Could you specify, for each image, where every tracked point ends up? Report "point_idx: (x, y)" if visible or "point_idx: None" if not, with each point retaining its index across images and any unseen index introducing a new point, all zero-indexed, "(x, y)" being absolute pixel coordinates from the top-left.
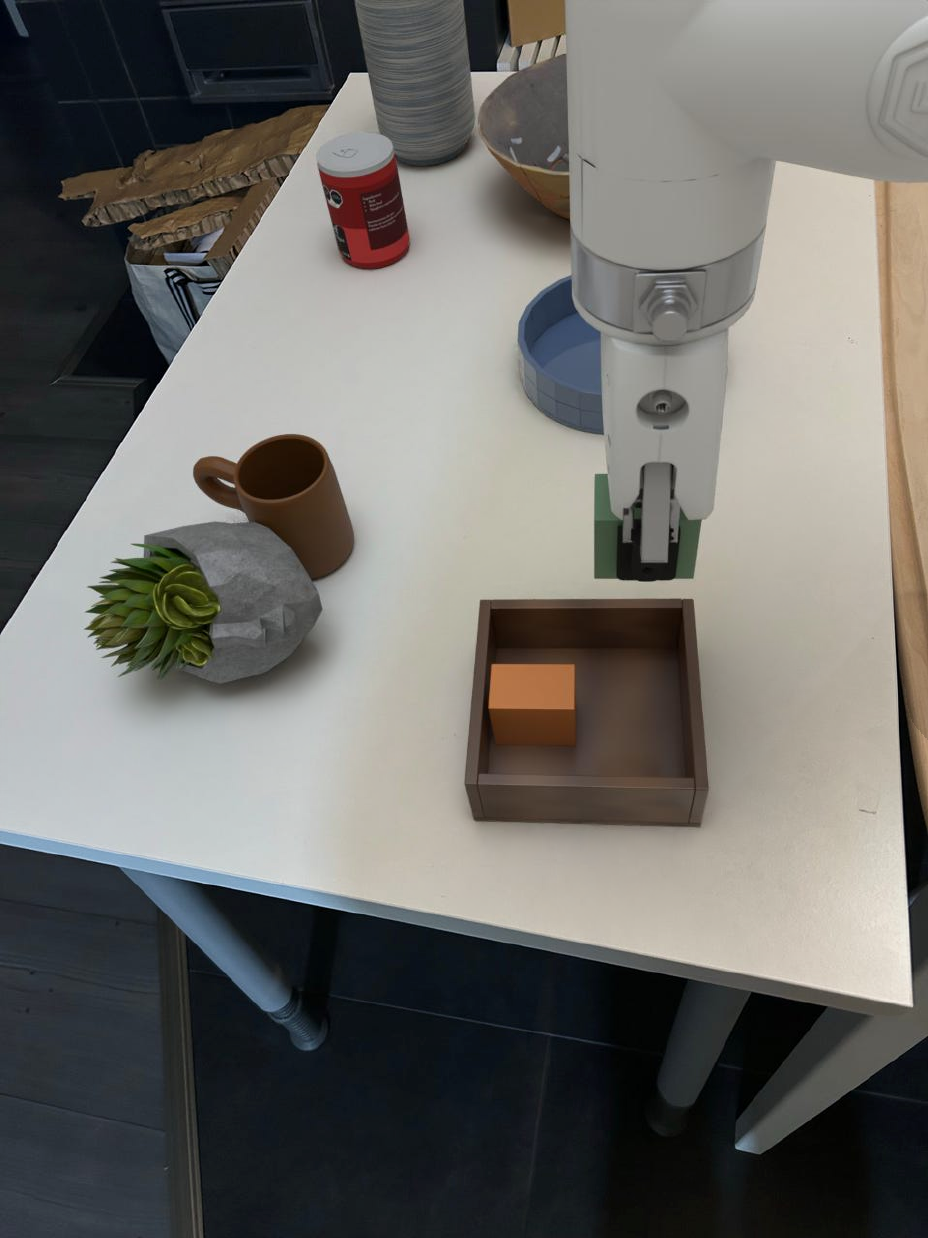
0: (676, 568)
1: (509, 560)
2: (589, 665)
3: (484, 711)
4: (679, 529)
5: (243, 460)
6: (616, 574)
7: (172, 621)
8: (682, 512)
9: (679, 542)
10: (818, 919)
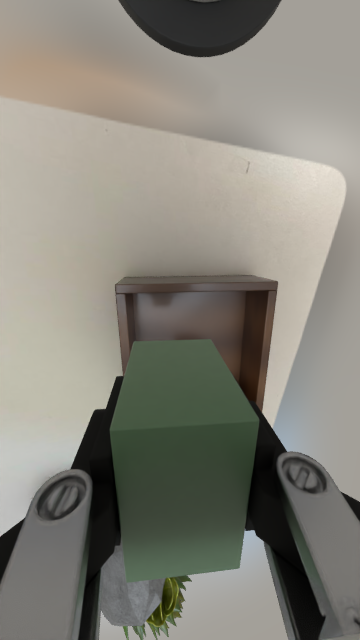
0: (237, 382)
1: (65, 389)
2: (148, 339)
3: None
4: (267, 447)
5: None
6: None
7: (177, 594)
8: (235, 453)
9: (261, 422)
10: (308, 212)
